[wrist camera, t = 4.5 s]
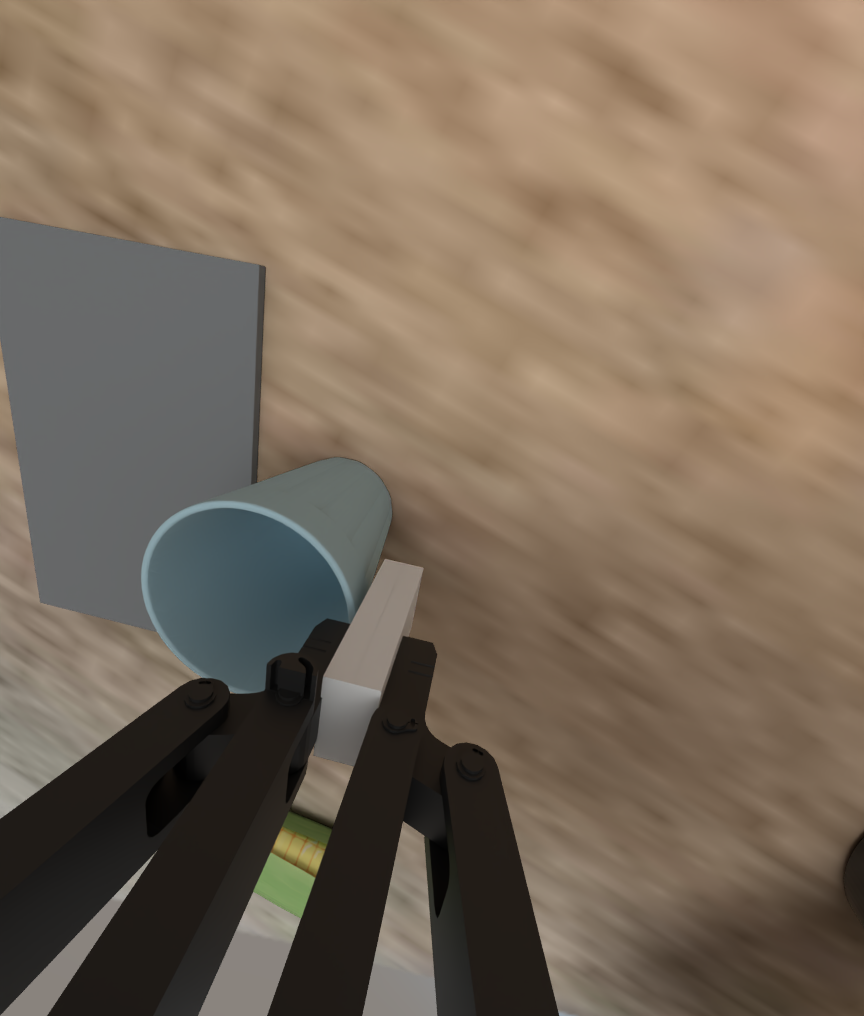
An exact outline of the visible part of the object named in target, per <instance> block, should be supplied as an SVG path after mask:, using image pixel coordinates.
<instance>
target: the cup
mask: <svg viewBox="0 0 864 1016" xmlns="http://www.w3.org/2000/svg"><path fill="white" fill-rule="evenodd" d="M391 520H392V505H391V498H390V495H389V492H388V490H387V488H386V487H385V485H384V483H383V481H382V480H381V479H380V477H379V476H378V475H377V474H376V473H375V472H373V471H372V470H371V469H370V468H368V467H367V466H365V465H364V464H362V463H360V462H358V461H355V460H350V459H346V458H341V457H334V458H330V459H326V460H321V461H317V462H314V463H311V464H309V465H306V466H303V467H300V468H297V469H294V470H291V471H289V472H286V473H283V474H280V475H277V476H275V477H272V478H269V479H266V480H264V481H261V482H258V483H255V484H252V485H250V486H247V487H244V488H241V489H238V490H236V491H232V492H229V493H226V494H223V495H220V496H217V497H215V498H212V499H209V500H206V501H203V502H200V503H198V504H195V505H192V506H190V507H187V508H185V509H183V510H181V511H179V512H177V513H176V514H174V515H173V516H171V517H170V518H169V519H167V520H166V521H165V522H164V523H163V524H162V525H161V526H160V527H159V528H158V530H157V531H156V532H155V533H154V535H153V537H152V538H151V540H150V542H149V544H148V546H147V549H146V551H145V554H144V558H143V563H142V570H141V584H142V593H143V598H144V602H145V606H146V609H147V611H148V614H149V616H150V619H151V621H152V623H153V625H154V627H155V629H156V630H157V632H158V634H159V635H160V637H161V638H162V640H163V641H164V642H165V644H166V645H167V646H168V648H169V649H170V650H171V651H172V652H173V653H174V654H175V655H176V656H177V657H178V658H179V659H180V660H181V661H182V662H183V663H184V664H185V665H186V666H187V667H189V668H190V669H191V670H192V671H194V672H195V673H196V674H198V675H199V676H201V677H202V678H214V679H218V680H221V681H222V682H224V683H225V684H226V685H227V686H228V688H229V691H231V692H234V693H237V694H243V693H257V692H261V691H264V690H265V682H266V667H267V663H268V662H269V661H270V660H271V659H272V658H274V657H276V656H278V655H281V654H285V653H291V652H293V653H298V652H299V651H300V649H301V647H303V644H304V643H305V641H306V640H307V639H308V637H309V635H310V633H311V632H312V630H313V629H314V627H315V626H316V625H318V624H319V623H321V622H322V621H324V620H325V619H327V618H328V619H332V620H337V621H341V622H345V623H349V624H351V622H352V621H353V619H354V617H355V615H356V613H357V611H358V609H359V607H360V605H361V603H362V602H363V600H364V598H365V596H366V594H367V592H368V590H369V588H370V586H371V584H372V581H373V578H374V575H375V572H376V568H377V565H378V562H379V559H380V556H381V553H382V549H383V546H384V543H385V540H386V537H387V534H388V530H389V527H390V524H391Z"/></svg>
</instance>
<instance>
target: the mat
mask: <svg viewBox="0 0 864 1016" xmlns="http://www.w3.org/2000/svg"><path fill="white" fill-rule="evenodd" d="M264 291H265V267H264V266H261V265H257V264H251V263H246V262H240V261H235V260H230V259H224V258H219V257H213V256H208V255H203V254H197V253H192V252H186V251H181V250H176V249H170V248H165V247H159V246H154V245H149V244H143V243H138V242H132V241H127V240H122V239H116V238H111V237H105V236H100V235H95V234H89V233H84V232H79V231H73V230H68V229H62V228H57V227H52V226H46V225H41V224H35V223H30V222H25V221H19V220H14V219H8V218H3V217H0V340H1V346H2V353H3V360H4V366H5V373H6V379H7V386H8V393H9V399H10V406H11V412H12V419H13V426H14V432H15V439H16V446H17V452H18V459H19V465H20V472H21V479H22V485H23V492H24V498H25V505H26V512H27V518H28V525H29V531H30V538H31V545H32V551H33V558H34V565H35V571H36V578H37V584H38V591H39V598H40V603H44V604H48V605H52V606H56V607H60V608H64V609H68V610H72V611H76V612H80V613H84V614H88V615H92V616H96V617H100V618H104V619H108V620H112V621H116V622H120V623H124V624H128V625H132V626H136V627H140V628H144V629H147V630H151V631H155V632H157V630H156V629H155V627H154V625H153V623H152V621H151V619H150V616H149V614H148V611H147V609H146V606H145V602H144V598H143V593H142V584H141V570H142V563H143V558H144V554H145V551H146V549H147V546H148V544H149V542H150V540H151V538H152V537H153V535H154V533H155V532H156V531H157V530H158V528H159V527H160V526H161V525H162V524H163V523H164V522H165V521H166V520H167V519H169V518H170V517H171V516H173V515H174V514H176V513H177V512H179V511H181V510H183V509H185V508H187V507H190V506H192V505H195V504H198V503H200V502H203V501H206V500H209V499H212V498H215V497H217V496H220V495H223V494H226V493H229V492H232V491H236V490H238V489H241V488H244V487H247V486H250V485H252V484H255V483H257V460H258V436H259V412H260V388H261V364H262V340H263V315H264Z"/></svg>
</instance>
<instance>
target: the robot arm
mask: <svg viewBox="0 0 864 1016" xmlns="http://www.w3.org/2000/svg"><path fill="white" fill-rule="evenodd" d="M422 573H423V567H418V566H414V565H410V564H406V563H401V562H397V561H393V560H388V559H385V560H384V562H383V564H382V565H381V567H380V569H379V571H378V573H377V575H376V577H375V579H374V581H373V583H372V584H371V586H370V588H369V590H368V592H367V594H366V596H365V598H364V600H363V602H362V603H361V605H360V607H359V609H358V611H357V613H356V615H355V617H354V619H353V621H352V622H351V624H349V623H345V622H341V621H337V620H332V619H328V618H327V619H325V620H324V621H322V622H321V623H319V624H318V625H316V626H315V627H314V629H313V630H312V632H311V633H310V635H309V637H308V639H307V640H306V641H305V643H304V644H303V647H301V649H300V651H299V652H298V653H293V652H291V653H285V654H281V655H278V656H276V657H274V658H272V659H271V660H270V661H269V662H268V663H267V667H266V682H265V690H264V691H261V692H257V693H243V694H230V691H229V688H228V686H227V685H226V684H225V683H224V682H222V681H221V680H218V679H214V678H199V679H196V680H192V681H189V682H187V683H185V684H184V685H182V686H180V687H179V688H177V689H176V690H175V691H173V692H172V693H171V694H169V695H168V696H167V697H165V698H164V699H162V700H161V701H160V702H158V703H157V704H156V705H154V706H153V707H152V708H150V709H149V710H148V711H146V712H145V713H143V714H142V715H141V716H139V717H138V718H137V719H135V720H134V721H133V722H131V723H130V724H129V725H127V726H126V727H124V728H123V729H122V730H120V731H119V732H118V733H116V734H115V735H114V736H112V737H111V738H110V739H108V740H107V741H105V742H104V743H103V744H101V745H100V746H99V747H97V748H96V749H95V750H93V751H92V752H91V753H89V754H88V755H86V756H85V757H84V758H82V759H81V760H80V761H78V762H77V763H76V764H74V765H73V766H72V767H70V768H69V769H67V770H66V771H65V772H63V773H62V774H61V775H59V776H58V777H57V778H55V779H54V780H53V781H51V782H50V783H48V784H47V785H46V786H44V787H43V788H42V789H40V790H39V791H38V792H36V793H35V794H34V795H32V796H31V797H29V798H28V799H27V800H25V801H24V802H23V803H21V804H20V805H19V806H17V807H16V808H15V809H13V810H12V811H10V812H9V813H8V814H6V815H5V816H4V817H2V818H1V819H0V1015H1V1014H2V1013H3V1012H4V1011H5V1010H6V1009H7V1008H8V1007H9V1005H10V1004H11V1003H12V1002H13V1001H14V1000H15V999H16V998H17V997H18V996H19V995H20V994H21V993H22V992H23V991H24V990H25V989H26V988H27V987H28V985H29V984H30V983H31V982H32V981H33V980H34V979H35V978H36V977H37V976H38V975H39V974H40V973H41V972H42V971H43V970H44V968H46V967H47V966H48V964H49V963H50V962H51V961H52V960H53V959H54V958H55V957H56V956H57V955H58V954H59V953H60V952H61V951H62V950H63V949H64V948H65V946H67V945H68V943H69V942H70V941H71V940H72V939H73V938H74V937H75V936H76V935H77V934H78V933H79V932H80V931H81V930H82V929H83V928H84V927H85V926H86V924H87V923H88V922H89V921H90V920H91V919H92V918H93V917H94V916H95V915H96V914H97V913H98V912H99V911H100V910H101V909H102V908H103V907H104V906H105V905H106V904H107V902H108V901H109V900H110V899H111V898H112V897H113V896H114V895H115V894H116V893H117V892H118V891H119V890H120V889H121V888H122V887H123V886H124V885H125V884H126V883H127V882H128V880H129V879H130V878H131V877H132V876H133V875H134V874H135V873H136V872H137V871H138V870H139V869H140V868H141V867H142V866H143V865H144V864H145V863H146V862H147V861H148V859H149V858H150V857H151V856H152V855H153V854H154V853H155V852H156V851H157V852H156V853H155V855H154V856H153V858H152V859H151V861H150V862H149V864H148V865H147V867H146V868H145V870H144V871H143V873H142V874H141V876H140V877H139V879H138V880H137V882H136V883H135V885H134V886H133V888H132V889H131V891H130V892H129V894H128V895H127V897H126V898H125V900H124V901H123V903H122V904H121V906H120V908H119V909H118V911H117V912H116V914H115V915H114V916H113V918H112V919H111V921H110V922H109V924H108V925H107V927H106V928H105V930H104V931H103V933H102V934H101V936H100V937H99V939H98V941H97V942H96V943H95V945H94V946H93V948H92V949H91V951H90V953H89V954H88V955H87V957H86V959H85V960H84V961H83V963H82V964H81V966H80V967H79V969H78V970H77V972H76V973H75V975H74V976H73V978H72V979H71V981H70V983H69V984H68V985H67V987H66V988H65V990H64V991H63V993H62V994H61V996H60V997H59V999H58V1001H57V1002H56V1003H55V1005H54V1007H53V1008H52V1009H51V1011H50V1012H49V1014H48V1015H47V1016H198V1014H199V1012H200V1010H201V1007H202V1005H203V1003H204V1000H205V998H206V996H207V994H208V991H209V989H210V987H211V985H212V983H213V980H214V978H215V976H216V974H217V972H218V969H219V967H220V965H221V963H222V960H223V958H224V956H225V953H226V951H227V949H228V947H229V945H230V942H231V940H232V938H233V936H234V933H235V931H236V929H237V927H238V924H239V922H240V920H241V918H242V915H243V913H244V911H245V909H246V907H247V904H248V902H249V900H250V898H251V895H252V893H253V891H254V889H255V886H256V884H257V882H258V880H259V877H260V875H261V873H262V871H263V868H264V866H265V864H266V862H267V859H268V857H269V855H270V853H271V850H272V848H273V846H274V844H275V841H276V839H277V837H278V835H279V833H280V830H281V828H282V826H283V824H284V821H285V819H286V817H287V815H288V812H289V810H290V808H291V806H292V803H293V801H294V799H295V797H296V794H297V792H298V790H299V788H300V785H301V783H302V781H303V779H304V776H305V774H306V770H307V764H308V757H309V755H310V753H311V751H312V749H313V747H314V744H315V747H314V755H313V756H317V757H321V758H324V759H328V760H332V761H336V762H339V763H343V764H347V765H351V766H354V768H353V771H352V774H351V777H350V780H349V783H348V786H347V788H346V791H345V794H344V797H343V800H342V803H341V806H340V809H339V811H338V814H337V817H336V820H335V823H334V826H333V829H332V831H331V834H330V837H329V840H328V843H327V846H326V849H325V852H324V854H323V857H322V860H321V863H320V866H319V869H318V872H317V875H316V877H315V880H314V883H313V886H312V889H311V892H310V895H309V897H308V900H307V903H306V906H305V909H304V912H303V915H302V918H301V920H300V923H299V926H298V929H297V932H296V935H295V938H294V940H293V943H292V946H291V949H290V952H289V955H288V958H287V961H286V963H285V967H284V969H283V972H282V975H281V978H280V981H279V984H278V987H277V989H276V992H275V995H274V998H273V1001H272V1004H271V1006H270V1009H269V1013H268V1015H267V1016H362V1014H363V1009H364V1004H365V999H366V995H367V990H368V985H369V980H370V975H371V971H372V966H373V961H374V957H375V952H376V947H377V942H378V937H379V933H380V928H381V923H382V918H383V914H384V909H385V904H386V899H387V894H388V890H389V885H390V880H391V875H392V871H393V866H394V861H395V856H396V852H397V847H398V842H399V837H400V832H401V828H402V823H403V821H404V822H405V823H407V824H408V825H410V826H411V827H413V828H414V829H416V830H417V831H419V832H420V833H422V834H423V835H424V836H425V837H424V841H425V854H426V868H427V881H428V895H429V908H430V922H431V935H432V949H433V962H434V976H435V988H436V1002H437V1015H438V1016H559V1013H558V1009H557V1005H556V1001H555V997H554V993H553V989H552V985H551V981H550V977H549V972H548V968H547V964H546V960H545V956H544V952H543V948H542V944H541V940H540V936H539V932H538V928H537V924H536V920H535V916H534V912H533V908H532V903H531V899H530V895H529V891H528V887H527V883H526V879H525V875H524V871H523V867H522V863H521V859H520V855H519V851H518V847H517V843H516V839H515V835H514V830H513V826H512V822H511V818H510V814H509V810H508V806H507V802H506V798H505V794H504V790H503V786H502V782H501V778H500V774H499V770H498V766H497V764H496V762H495V760H494V758H493V757H492V756H491V755H490V754H489V753H488V752H487V750H485V749H483V748H482V747H480V746H478V745H475V744H471V743H459V744H456V745H454V746H452V747H449V746H447V745H445V744H444V743H442V742H441V741H439V740H438V739H436V738H435V737H434V736H433V735H432V734H431V732H430V731H429V729H428V727H427V726H426V722H425V711H426V706H427V701H428V697H429V692H430V687H431V682H432V677H433V672H434V667H435V663H436V658H437V653H436V650H435V647H434V645H433V643H431V642H427V641H423V640H419V639H415V638H410V637H409V634H410V631H411V628H412V623H413V618H414V613H415V608H416V603H417V598H418V593H419V588H420V583H421V578H422ZM844 885H845V892H846V896H847V899H848V901H849V903H850V906H851V907H852V909H853V911H854V912H855V914H856V916H857V917H858V919H859V921H860V922H861V924H862V925H863V927H864V838H863V839H862V840H861V841H860V843H859V844H858V845H857V847H856V848H855V849H854V851H853V853H852V855H851V856H850V859H849V861H848V864H847V867H846V871H845V878H844Z"/></svg>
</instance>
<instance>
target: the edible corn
mask: <svg viewBox="0 0 864 1016" xmlns="http://www.w3.org/2000/svg"><path fill="white" fill-rule="evenodd" d="M331 831H332V829H331V828H329V827H327V826H324V825H322V824H320V823H317V822H315V821H312V820H310V819H307V818H305V817H303V816H300V815H298V814H295V813H293V812H291V811H289V812H288V815H287V817H286V819H285V821H284V824H283V826H282V828H281V830H280V833H279V835H278V837H277V839H276V841H275V844H274V846H273V848H272V850H271V853H270V855H269V857H268V859H267V862H266V864H265V866H264V868H263V871H262V873H261V875H260V877H259V880H258V882H257V884H256V886H255V889H254V891H253V892H255V893H257V894H258V895H260V896H262V897H264V898H265V899H267V900H269V901H270V902H272V903H274V904H275V905H277V906H279V907H281V908H282V909H284V910H286V911H288V912H290V913H292V914H294V915H295V916H297V917H299V918H302V915H303V912H304V909H305V906H306V903H307V900H308V897H309V895H310V892H311V889H312V886H313V883H314V880H315V877H316V875H317V872H318V869H319V866H320V863H321V860H322V857H323V854H324V852H325V849H326V846H327V843H328V840H329V837H330V834H331Z"/></svg>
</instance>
